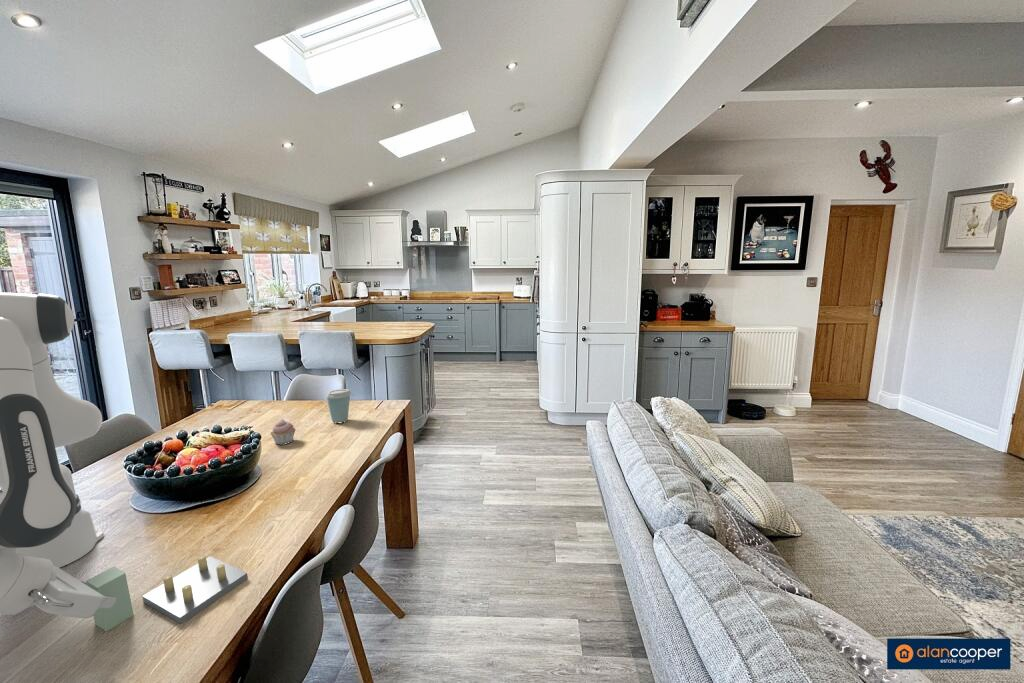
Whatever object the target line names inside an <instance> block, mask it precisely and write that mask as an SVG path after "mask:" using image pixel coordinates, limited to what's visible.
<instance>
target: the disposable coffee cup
mask: <svg viewBox="0 0 1024 683" xmlns="http://www.w3.org/2000/svg"><path fill="white" fill-rule="evenodd" d="M351 395H352V392H351V391H350V389H348V388H340V389H339V388H337V389H334V390H333V389H332V390H330V391H328V392H327V393H326V395H325V397H326V401H327V404H328V409H329V414H330V419H331V422H332V423H333V422H336V423H338V422H344V421H346V420H347V421H348V419H349V410H350V408H349V407H350V399H351ZM347 421H346V422H347ZM336 423H335V424H336ZM344 423H345V422H344Z"/></svg>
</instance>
